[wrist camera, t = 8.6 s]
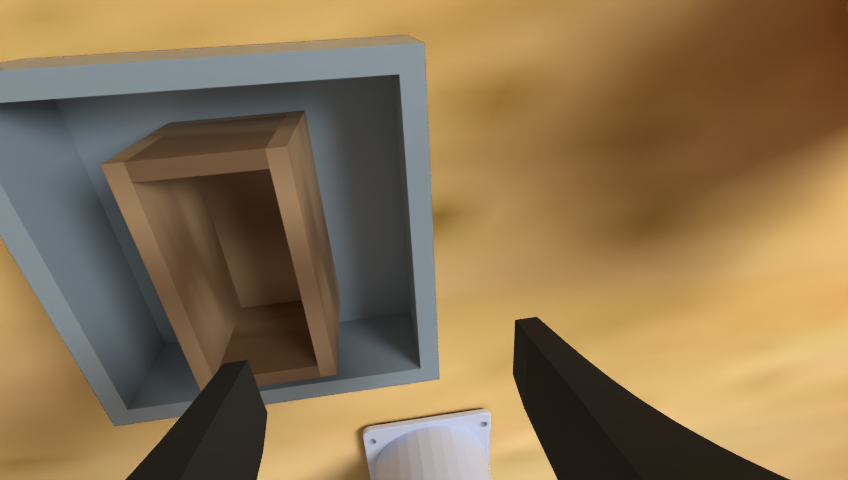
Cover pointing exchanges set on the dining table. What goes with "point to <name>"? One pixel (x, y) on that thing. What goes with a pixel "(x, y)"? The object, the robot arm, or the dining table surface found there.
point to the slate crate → (206, 99)
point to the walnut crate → (235, 242)
